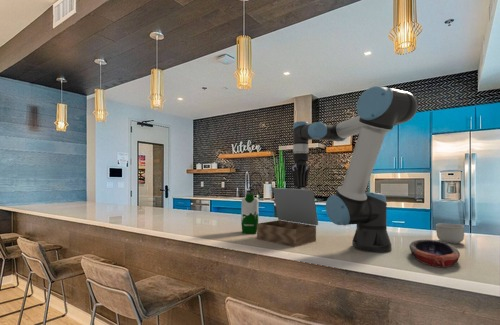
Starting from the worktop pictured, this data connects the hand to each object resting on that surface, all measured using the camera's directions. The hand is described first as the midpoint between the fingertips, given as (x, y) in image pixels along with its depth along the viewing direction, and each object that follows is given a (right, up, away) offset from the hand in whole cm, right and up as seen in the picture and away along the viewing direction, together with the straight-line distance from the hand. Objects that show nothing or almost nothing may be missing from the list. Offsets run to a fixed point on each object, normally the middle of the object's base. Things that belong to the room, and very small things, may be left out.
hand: (300, 200), depth 148 cm
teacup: (+67, -18, -9) cm, 70 cm away
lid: (-4, -2, -4) cm, 6 cm away
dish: (+42, -17, -38) cm, 59 cm away
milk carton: (-25, -18, +8) cm, 32 cm away
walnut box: (-8, -17, -9) cm, 21 cm away
